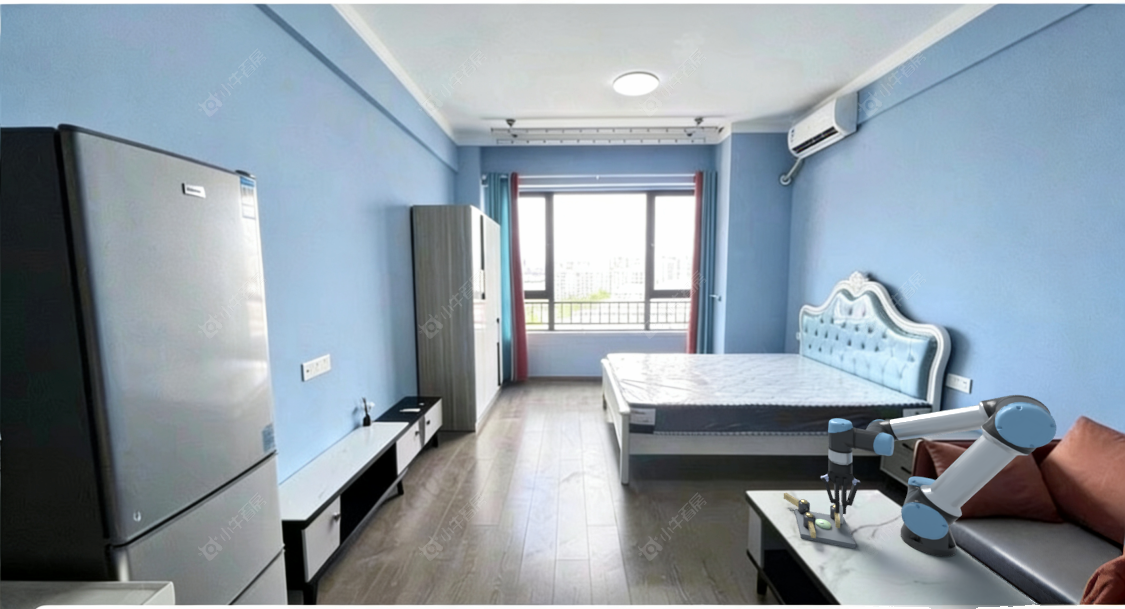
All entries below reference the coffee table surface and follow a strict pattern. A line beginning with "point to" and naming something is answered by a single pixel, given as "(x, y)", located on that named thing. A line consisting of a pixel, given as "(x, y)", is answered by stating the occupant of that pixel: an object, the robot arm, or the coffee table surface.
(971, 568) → the coffee table surface
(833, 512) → the knob
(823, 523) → the base plate
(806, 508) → the knob
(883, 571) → the coffee table surface
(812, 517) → the knob
